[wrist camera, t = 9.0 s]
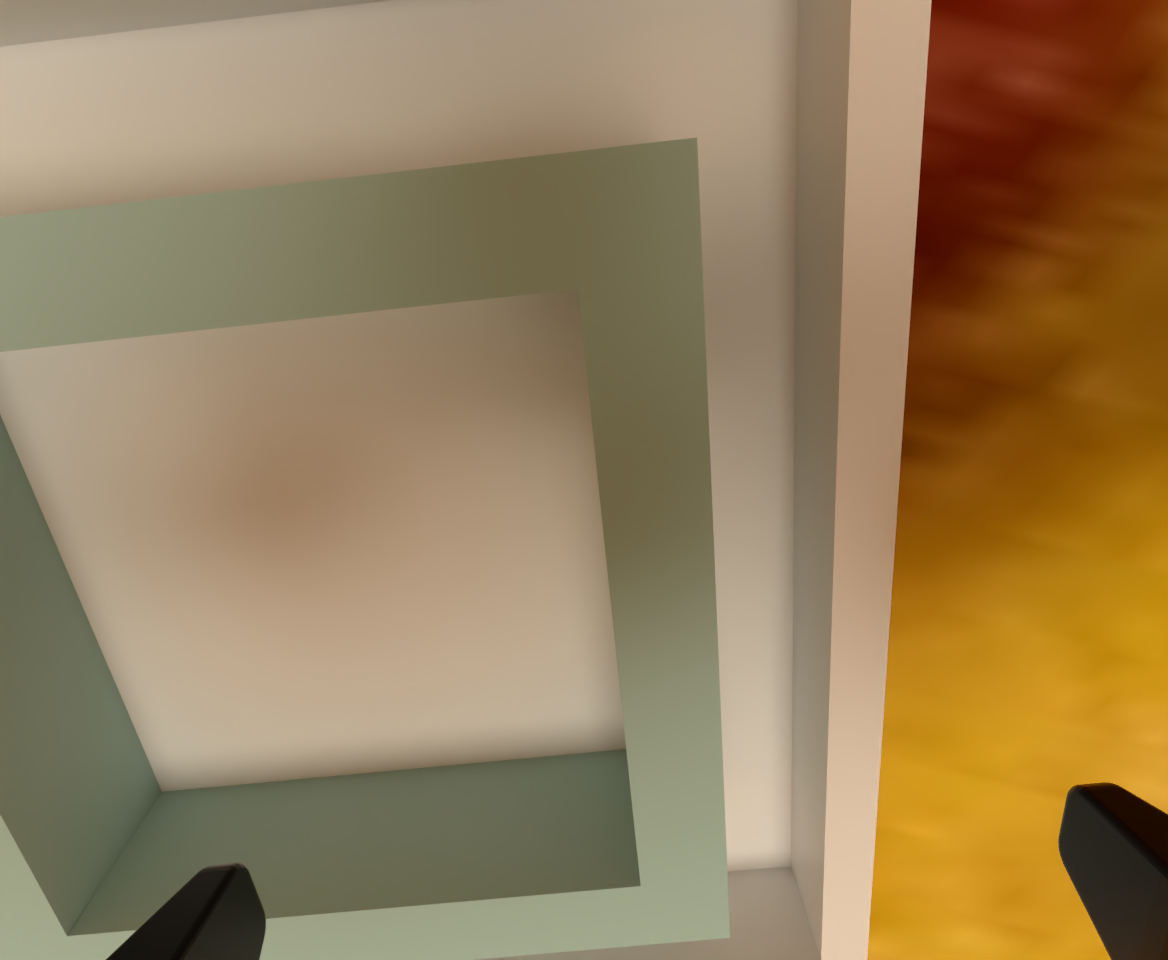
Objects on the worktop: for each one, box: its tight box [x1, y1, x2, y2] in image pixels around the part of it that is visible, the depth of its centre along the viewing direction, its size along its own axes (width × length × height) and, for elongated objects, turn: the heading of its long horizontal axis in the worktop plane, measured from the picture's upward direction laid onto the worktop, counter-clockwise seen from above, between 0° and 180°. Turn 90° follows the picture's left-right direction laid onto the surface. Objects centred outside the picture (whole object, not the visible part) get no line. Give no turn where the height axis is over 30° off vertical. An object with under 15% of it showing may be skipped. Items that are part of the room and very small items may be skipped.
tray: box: [0, 0, 932, 960], centre depth 14 cm, size 21×21×3 cm
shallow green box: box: [0, 138, 730, 960], centre depth 13 cm, size 14×14×4 cm
